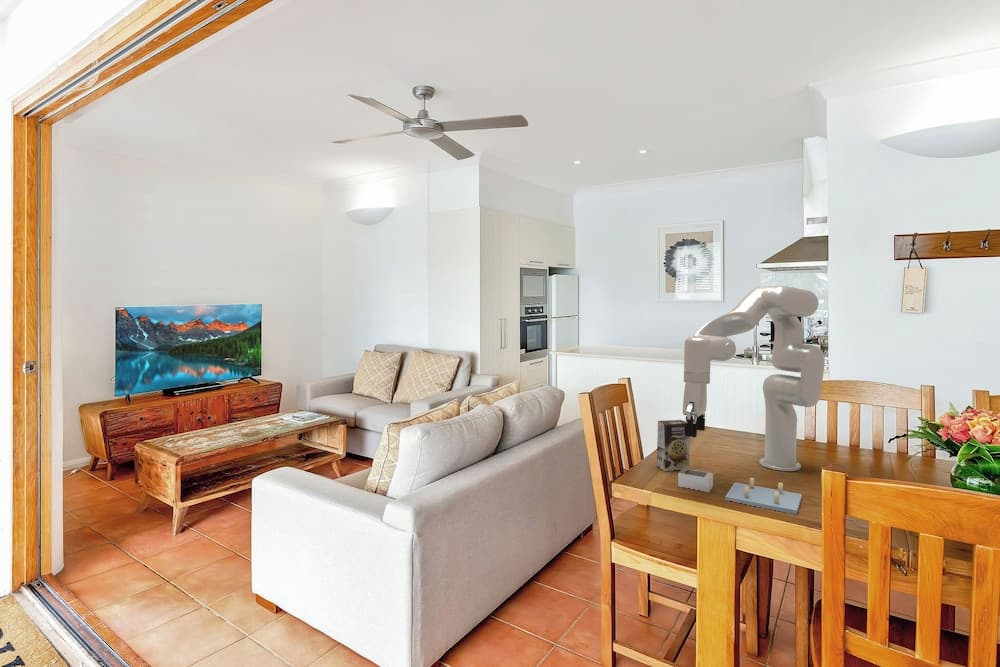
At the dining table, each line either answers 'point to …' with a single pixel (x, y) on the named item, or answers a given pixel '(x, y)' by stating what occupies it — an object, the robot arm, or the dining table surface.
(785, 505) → the blue pegged holder base
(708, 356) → the robot arm
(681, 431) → the cookie box
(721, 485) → the dining table surface
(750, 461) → the dining table surface
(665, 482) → the dining table surface
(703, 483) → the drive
